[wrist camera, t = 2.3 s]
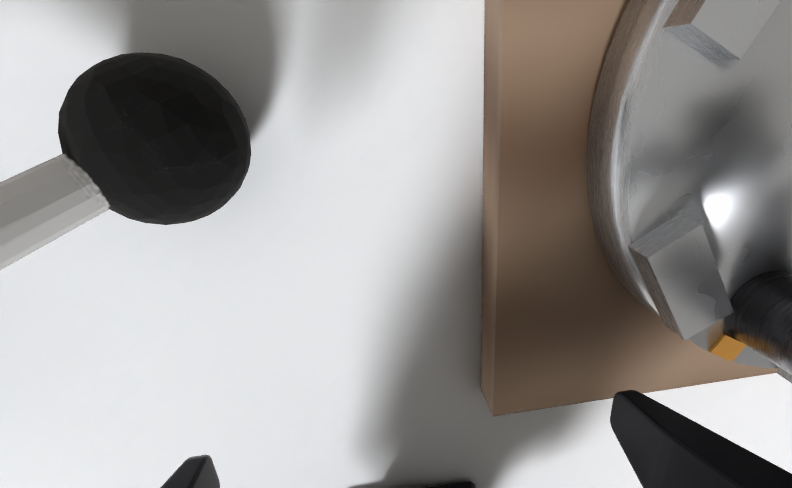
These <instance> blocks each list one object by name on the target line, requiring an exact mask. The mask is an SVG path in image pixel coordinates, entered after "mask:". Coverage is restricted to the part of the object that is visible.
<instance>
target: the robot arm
mask: <svg viewBox="0 0 792 488" xmlns="http://www.w3.org/2000/svg"><path fill="white" fill-rule="evenodd" d="M610 423H611V427H612V429H613V431H614V433H615V435H616V437H617V439H618V441H619V443H620V445H621V447H622V448H623V450H624V452H625V454H626V456H627V458H628V460H629V462H630V464H631V466H632V467H633V469H634V471H635V473H636V475H637V477H638V479H639V481H640V483H641V484H642V486H643V488H792V474H791V473H789V472H787V471H785V470H784V469H782V468H780V467H778V466H776V465H774V464H772V463H770V462H769V461H767V460H765V459H763V458H761V457H759V456H757V455H756V454H754V453H752V452H750V451H748V450H746V449H744V448H742V447H741V446H739V445H737V444H735V443H733V442H731V441H729V440H728V439H726V438H724V437H722V436H720V435H718V434H716V433H714V432H713V431H711V430H709V429H707V428H705V427H703V426H701V425H700V424H698V423H696V422H694V421H692V420H690V419H688V418H686V417H685V416H683V415H681V414H679V413H677V412H675V411H673V410H672V409H670V408H668V407H666V406H664V405H662V404H660V403H659V402H657V401H655V400H653V399H651V398H649V397H647V396H645V395H644V394H642V393H640V392H638V391H636V390H626V391H619V392H616V394H615V395H614V399H613V405H612V410H611V416H610ZM161 488H220V483H219V479H218V476H217V473H216V470H215V467H214V464H213V461H212V459H211V457H210V456H209V455H201V456H195V457H190V458H188V459H187V460H186V461H185V462H184V463H183V464H182V465H181V466H180V467H179V468H178V469H177V470H176V471H175V472H174V474H173V475H172V476H171V477H170V478H169V479H168V480H167V481H166V482H165V483H164V485H163V486H162V487H161ZM433 488H476V485H475V484H474V483H472V482H463V483H457V484H451V485H445V486H439V487H433Z"/></svg>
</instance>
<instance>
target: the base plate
mask: <svg viewBox="0 0 792 488" xmlns="http://www.w3.org/2000/svg"><path fill="white" fill-rule="evenodd" d="M629 2H630V0H485V35H484V139H483V242H482V346H481V390H482V393H483V395H484V397H485V399H486V402H487V404H488V406H489V408H490V411H491V413H492V415H493V416H499V415H505V414H512V413H518V412H525V411H531V410H538V409H544V408H551V407H557V406H564V405H570V404H577V403H583V402H590V401H596V400H603V399H609V398H614V395H615V394H616V392H619V391H626V390H636V391H638V392H640V393H648V392H654V391H661V390H667V389H674V388H680V387H687V386H693V385H700V384H706V383H713V382H719V381H726V380H732V379H739V378H745V377H752V376H758V375H765V374H771V373H777V371H778V368H762V367H755V366H749V365H743V364H739V363H736V362H733V361H732V362H731V361H729V360H726V359H724V358H720V357H717V356H716V355H714V354H712V353H710V352H708V351H706V350H704V349H702V348H700V347H699V346H697V345H695V344H694V343H693V342H691V341H690V340H689V339H686V340H683V339H682V338H681V337H679V336H678V335H677V334H675V333H674V332H673V331H672V330H670V329H669V328H668V327H666V326H665V325H664V324H663V322H662V319H661V318H660V317H658V316H657V315H656V314H654V313H653V312H652V311H650V310H649V309H648V308H647V307H645V306H644V305H643V304H642V303H640V302H639V301H638V300H637V299H635V298H634V297H633V296H632V295H631V294H630V293H629V291H628V290H627V289H626V288H625V287H624V286H623V285H622V284H621V282H620V281H619V280H618V279H617V277H616V276H615V274H614V272H613V271H612V269H611V267H610V266H609V264H608V262H607V261H606V259H605V257H604V255H603V252H602V250H601V247H600V245H599V242H598V240H597V237H596V235H595V231H594V227H593V223H592V218H591V214H590V210H589V206H588V194H587V183H586V155H587V136H588V131H589V125H590V119H591V113H592V107H593V101H594V97H595V93H596V89H597V86H598V82H599V79H600V75H601V72H602V68H603V65H604V61H605V58H606V55H607V53H608V50H609V48H610V45H611V43H612V40H613V38H614V35H615V33H616V30H617V28H618V25H619V23H620V20H621V18H622V15H623V14H624V12H625V10H626V8H627V6H628V4H629Z"/></svg>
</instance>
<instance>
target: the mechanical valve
mask: <svg viewBox="0 0 792 488" xmlns="http://www.w3.org/2000/svg"><path fill="white" fill-rule="evenodd" d="M58 134H59V139H60V144H61V148H62V153H63V154H61V155H59V156H57V157H55V158H53V159H50V160H48V161H46V162H44V163H42V164H39V165H37V166H35V167H33V168H31V169H29V170H26V171H24V172H22V173H20V174H18V175H15V176H13V177H11V178H9V179H7V180H5V181H2V182H0V270H1V269H3V268H5V267H7V266H9V265H10V264H12V263H14V262H16V261H17V260H19V259H21V258H23V257H25V256H26V255H28V254H30V253H32V252H33V251H35V250H37V249H39V248H41V247H42V246H44V245H46V244H48V243H50V242H51V241H53V240H55V239H57V238H58V237H60V236H62V235H64V234H66V233H67V232H69V231H71V230H73V229H75V228H76V227H78V226H80V225H82V224H83V223H85V222H87V221H89V220H91V219H92V218H94V217H96V216H98V215H99V214H101V213H103V212H105V211H107V210H108V209H110V210H112V211H114V212H117V213H119V214H121V215H123V216H125V217H127V218H129V219H133V220H137V221H140V222H144V223H152V224H163V225H169V224H178V223H185V222H190V221H195V220H197V219H200V218H203V217H205V216H208V215H210V214H212V213H213V212H215V211H216V210H218V209H220V208H221V207H222V206H223V205H225V204H226V203H227V202H228V201H229V200H230V199H231V198H232V197H233V196H234V195H235V193H236V192H237V191H238V190H239V188H240V187H241V185H242V183H243V180H244V178H245V176H246V174H247V172H248V168H249V165H250V157H251V146H250V135H249V131H248V128H247V124H246V120H245V118H244V116H243V114H242V112H241V110H240V108H239V106H238V104H237V103H236V101H235V100H234V99H233V97H232V96H231V94H230V93H229V92H228V91H227V90H226V89H225V88H224V87H223V86H222V85H221V84H220V83H219V82H218V81H217V80H216V79H215V78H213V77H212V76H210V75H209V74H208V73H206V72H205V71H203V70H202V69H200V68H199V67H197V66H195V65H192V64H190V63H188V62H186V61H184V60H182V59H179V58H175V57H172V56H168V55H164V54H156V53H131V54H121V55H118V56H115V57H112V58H109V59H106V60H103V61H101V62H99V63H98V64H96V65H94V66H92V67H91V68H89V69H88V70H87V71H85V72H84V73H83V74H81V75H80V76H79V77H78V78H77V79H76V80H75V82H74V83H73V84H72V86H71V87H70V89H69V90H68V93H67V95H66V97H65V100H64V102H63V104H62V107H61V109H60V112H59V125H58Z"/></svg>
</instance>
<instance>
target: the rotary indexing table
mask: <svg viewBox="0 0 792 488" xmlns="http://www.w3.org/2000/svg"><path fill="white" fill-rule="evenodd" d="M586 183H587V194H588V206H589V210H590V214H591V218H592V223H593V227H594V231H595V235H596V237H597V240H598V242H599V245H600V247H601V250H602V252H603V255H604V257H605V259H606V261H607V262H608V264H609V266H610V267H611V269H612V271H613V272H614V274H615V276H616V277H617V279H618V280H619V281H620V282H621V284H622V285H623V286H624V287H625V288H626V289H627V290H628V291H629V293H630V294H631V295H632V296H633V297H634V298H635V299H637V300H638V301H639V302H640V303H642V304H643V305H644V306H645V307H647V308H648V309H649V310H650V311H652V312H653V313H654V314H656V315H657V316H658V317H660V318H661V319H662V322H663V324H664V325H665V326H666V327H668V328H669V329H670V330H672V331H673V332H674V333H675V334H677V335H678V336H679V337H681V338H682V339H683V340H686V339H689V340H690V341H691V342H693V343H694V344H695V345H697V346H699V347H700V348H702V349H704V350H706V351H708V352H710V353H712V354H714V355H716V356H717V357H720V358H724V359H726V360H729V361H731V362H732V361H733V362H736V363H739V364H743V365H749V366H755V367H762V368H778V371H777V373H778V374H779V375H781V376H782V377H784V378H785V379H787V380H788V381H789V382H791V383H792V0H630V2H629V4H628V6H627V8H626V10H625V12H624V14H623V15H622V18H621V20H620V23H619V25H618V28H617V30H616V33H615V35H614V38H613V40H612V43H611V45H610V48H609V50H608V53H607V55H606V58H605V61H604V65H603V68H602V72H601V75H600V79H599V82H598V86H597V89H596V93H595V97H594V101H593V107H592V113H591V119H590V125H589V131H588V136H587V155H586Z"/></svg>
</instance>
